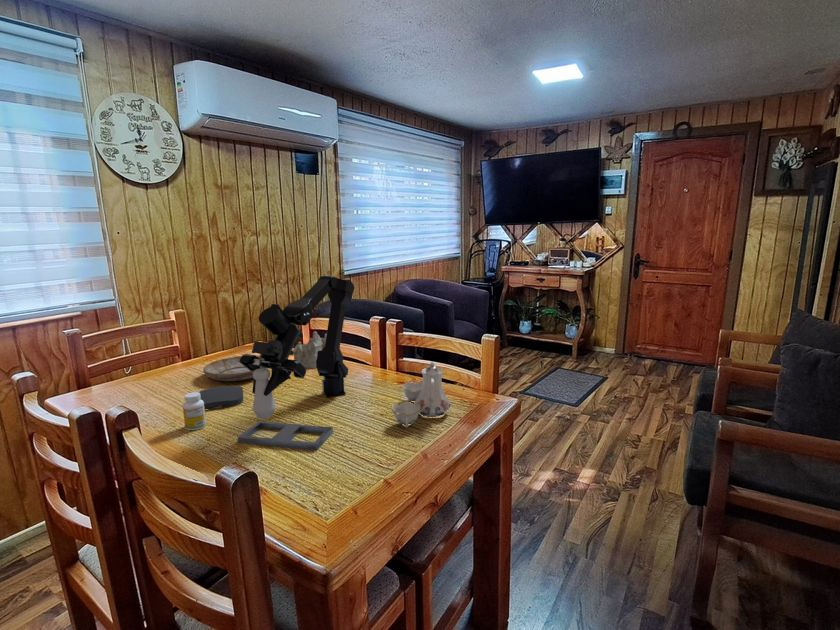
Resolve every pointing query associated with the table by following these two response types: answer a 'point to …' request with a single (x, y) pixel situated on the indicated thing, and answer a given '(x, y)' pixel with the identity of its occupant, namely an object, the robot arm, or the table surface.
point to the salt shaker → (262, 395)
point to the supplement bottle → (194, 411)
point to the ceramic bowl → (228, 370)
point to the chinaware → (423, 397)
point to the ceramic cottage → (309, 351)
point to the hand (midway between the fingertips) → (259, 394)
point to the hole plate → (285, 435)
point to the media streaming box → (222, 397)
